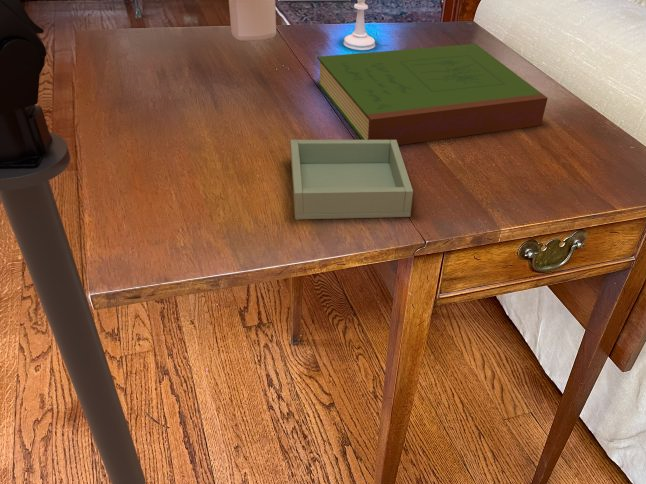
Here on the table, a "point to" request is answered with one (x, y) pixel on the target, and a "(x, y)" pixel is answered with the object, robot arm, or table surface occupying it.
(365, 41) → the chess piece
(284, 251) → the table surface
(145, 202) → the table surface
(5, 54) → the robot arm
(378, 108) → the hardcover book
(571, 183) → the table surface
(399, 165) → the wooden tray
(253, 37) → the eye dropper bottle
